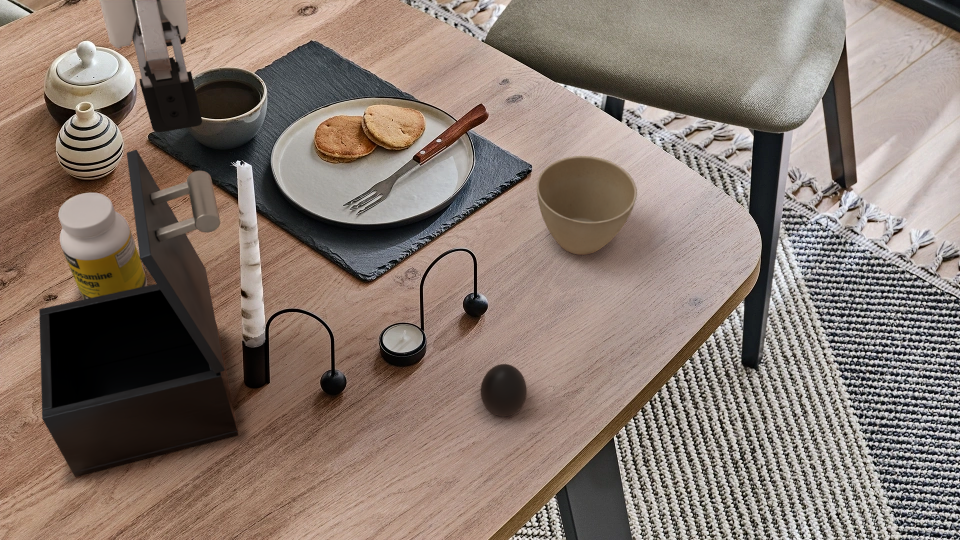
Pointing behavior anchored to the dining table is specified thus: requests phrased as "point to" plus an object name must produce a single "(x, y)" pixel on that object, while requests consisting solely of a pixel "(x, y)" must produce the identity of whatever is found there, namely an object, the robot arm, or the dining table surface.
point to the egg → (503, 390)
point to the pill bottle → (99, 246)
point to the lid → (178, 249)
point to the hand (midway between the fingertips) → (170, 83)
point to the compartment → (127, 382)
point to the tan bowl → (585, 201)
